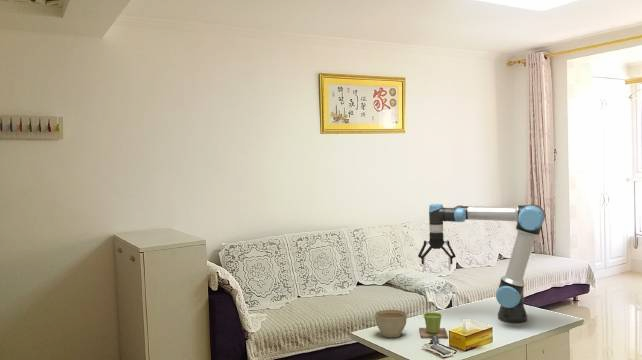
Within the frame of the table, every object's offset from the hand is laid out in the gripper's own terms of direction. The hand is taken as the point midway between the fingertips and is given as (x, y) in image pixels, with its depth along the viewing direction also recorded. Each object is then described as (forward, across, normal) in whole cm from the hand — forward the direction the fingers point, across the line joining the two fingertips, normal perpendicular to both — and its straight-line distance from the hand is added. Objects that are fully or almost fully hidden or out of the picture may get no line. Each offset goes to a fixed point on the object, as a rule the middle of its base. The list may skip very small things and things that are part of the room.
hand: (437, 270), depth 297 cm
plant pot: (+26, +5, +28) cm, 38 cm away
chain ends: (+27, +5, +30) cm, 40 cm away
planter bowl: (+27, +26, +30) cm, 48 cm away
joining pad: (+27, +5, +28) cm, 39 cm away
